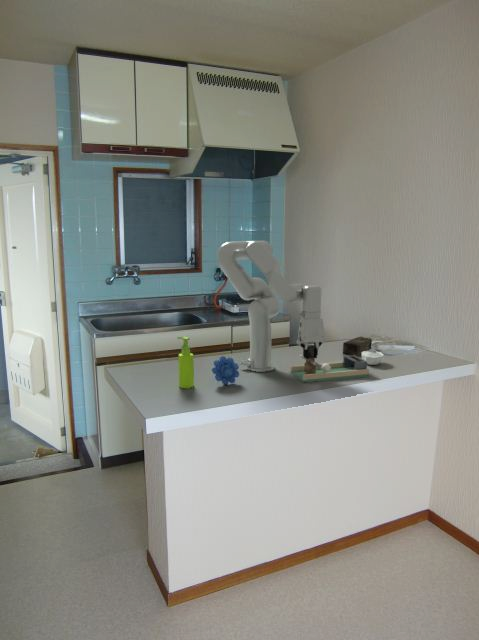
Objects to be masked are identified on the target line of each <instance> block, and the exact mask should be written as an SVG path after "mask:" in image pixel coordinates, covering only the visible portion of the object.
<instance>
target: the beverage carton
mask: <svg viewBox="0 0 479 640" xmlns="http://www.w3.org/2000/svg"><path fill="white" fill-rule="evenodd" d="M372 345H373V338H371V337H364V336H357V337H355V338H352V339H350V340H347V341H345V342H343V343H342V354H345V355H347V356H352V355H355V356H357V357H358V356H360V355H362V352H363V351H369V350H370V349H372V347H373V346H372Z"/></svg>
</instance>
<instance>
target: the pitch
mask: <svg viewBox="0 0 479 640" xmlns="http://www.w3.org/2000/svg"><path fill="white" fill-rule="evenodd" d="M325 363H327V364H329V365H330V367H331V370H330V371H329V372H327V373H325V372H323V371H322V369H321V368H318V367H316V374H307V373H305V372H304V364H301V365H290V369H289V370H290V374H291V375H292V374H293V375H294V376H293V375H292V376H293V377H295V378H296V377H297V378H296V379H298V380H299V381H300V380H301V381H300V382H301V383H303V384H305V383H304V382H307V383H315V382H314V381H318V382H325V381H327V382H329V381H336V380H337V381H338V380H348V379H357V378H358V379H359V378H368V377H369V368H367V369H359V370H354V367H346V368H344V367H343V361H336V362H324V363H323V362H322V363H318V364H319V365H321V367H322V365H323V364H325Z"/></svg>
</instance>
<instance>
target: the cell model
mask: <svg viewBox="0 0 479 640" xmlns="http://www.w3.org/2000/svg"><path fill="white" fill-rule="evenodd" d="M361 359H363V360H365V361H367V365H369V366H370V365H371V366H377V365H379V364H380V363H381V362H382V361H383V360H384V354H383V352H381V351H377V350H376V349H374V348H371V349H370V350H369V351H363V352H362V354H361Z"/></svg>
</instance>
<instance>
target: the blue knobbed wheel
mask: <svg viewBox="0 0 479 640" xmlns="http://www.w3.org/2000/svg"><path fill="white" fill-rule="evenodd" d="M213 365H214V366H213V367H212V369H211V372H212V374H214V379H215V381H217V382H221V383H222V384H223V385H225V386H226V384H227V385H228V384H229V383H231V384H235V383H236V379H237V378H239V377H240V372H239V371H238V370H239V368H240V365H239V363H236V362H235V360H234V358H232V357H228V358H227V357H226V356H223V355H222V356H220V357H219V360H218V359H216V360H214V361H213Z"/></svg>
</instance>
